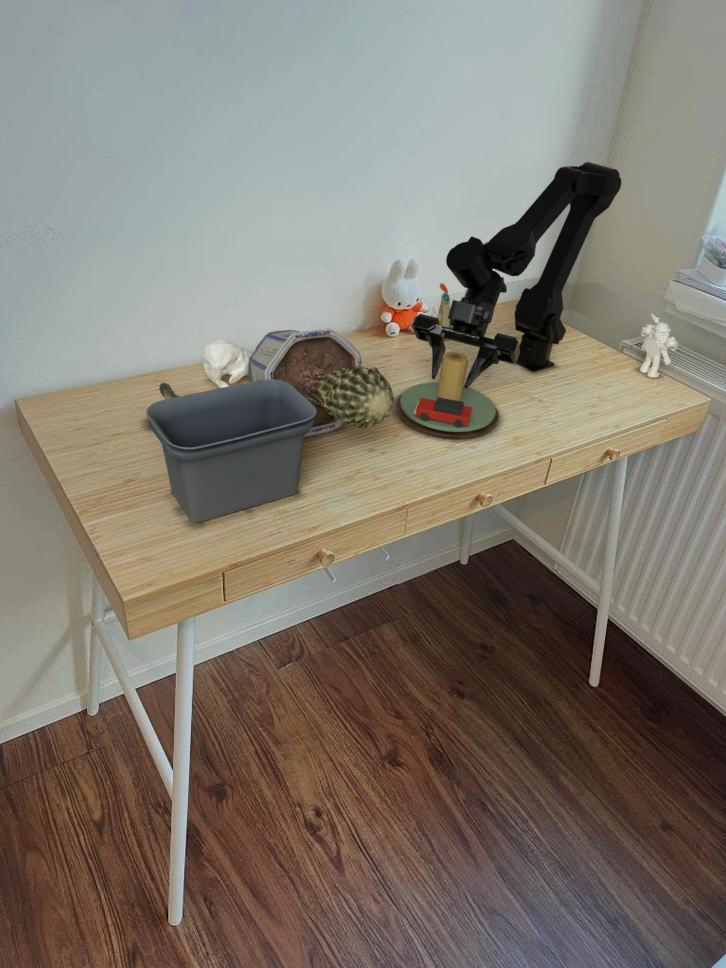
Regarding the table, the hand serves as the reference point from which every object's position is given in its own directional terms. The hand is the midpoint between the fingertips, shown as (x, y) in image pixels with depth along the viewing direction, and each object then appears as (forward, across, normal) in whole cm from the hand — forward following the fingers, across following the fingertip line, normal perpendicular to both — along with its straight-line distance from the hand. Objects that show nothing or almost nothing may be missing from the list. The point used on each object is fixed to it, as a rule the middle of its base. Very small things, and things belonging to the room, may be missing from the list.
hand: (449, 382), depth 133 cm
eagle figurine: (+24, -37, -15) cm, 47 cm away
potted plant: (+17, -16, -8) cm, 24 cm away
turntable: (+3, 0, +5) cm, 6 cm away
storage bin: (+32, -19, -23) cm, 44 cm away
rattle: (-20, -11, +29) cm, 37 cm away
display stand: (+4, 0, +6) cm, 7 cm away
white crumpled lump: (+11, -37, -2) cm, 39 cm away
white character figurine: (-24, +30, +34) cm, 51 cm away
